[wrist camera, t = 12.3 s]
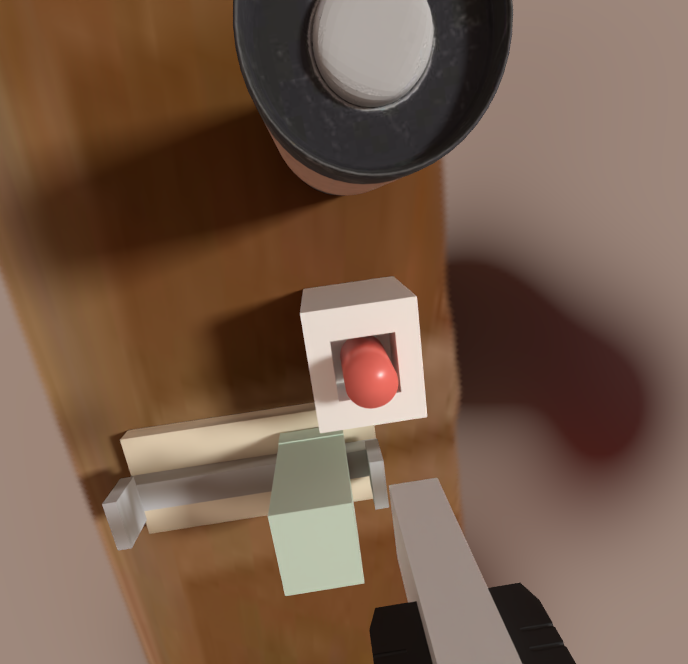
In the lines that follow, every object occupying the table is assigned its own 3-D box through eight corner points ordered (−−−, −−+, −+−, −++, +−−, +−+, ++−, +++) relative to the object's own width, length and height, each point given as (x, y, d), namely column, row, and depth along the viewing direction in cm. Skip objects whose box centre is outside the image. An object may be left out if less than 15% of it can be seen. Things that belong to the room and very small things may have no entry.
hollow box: (303, 289, 33) (299, 313, 25) (393, 276, 33) (416, 296, 26) (318, 384, 35) (319, 433, 28) (402, 372, 35) (427, 417, 28)
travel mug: (346, 220, 32) (395, 238, 13) (260, 152, 30) (167, 53, 11) (412, 132, 31) (579, 2, 11) (326, 55, 29) (350, -249, 10)
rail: (127, 430, 35) (91, 473, 30) (368, 394, 36) (379, 429, 30) (155, 521, 38) (127, 577, 32) (380, 486, 38) (392, 535, 33)
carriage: (279, 433, 34) (267, 514, 25) (341, 424, 34) (352, 501, 25) (292, 499, 36) (285, 597, 27) (351, 489, 36) (364, 584, 27)
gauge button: (337, 337, 28) (341, 363, 24) (382, 330, 28) (395, 354, 24) (343, 378, 29) (348, 412, 24) (386, 372, 29) (400, 404, 25)
